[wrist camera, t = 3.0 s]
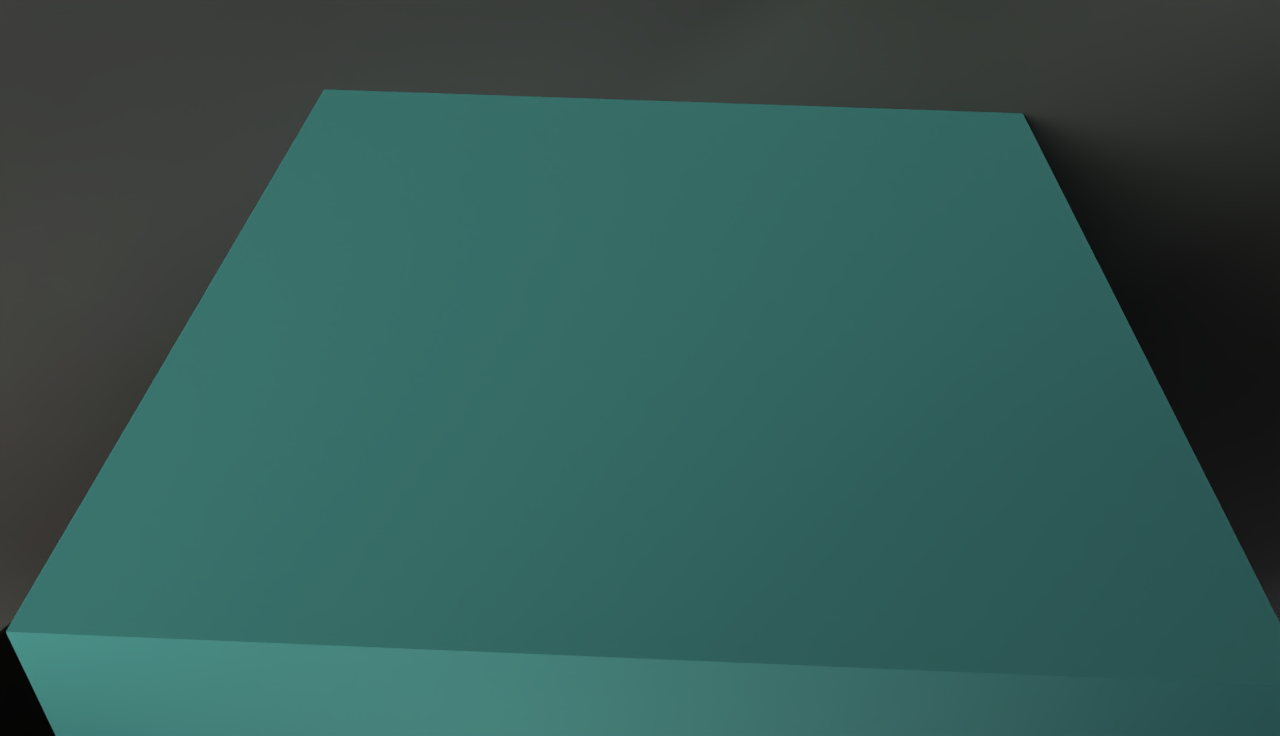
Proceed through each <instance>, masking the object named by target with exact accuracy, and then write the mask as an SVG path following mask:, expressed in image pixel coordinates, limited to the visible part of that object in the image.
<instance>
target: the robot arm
mask: <svg viewBox="0 0 1280 736" xmlns="http://www.w3.org/2000/svg"><path fill="white" fill-rule="evenodd" d="M10 624H11V623H9V624H8V625H7V626H6V627H4V628H3V629H2V630H1V631H0V736H56V735H55V733H54V731H53V729H52V727H51V725H50V723H49V721H48V719H47V717H46V715H45V713H44V710H43V708H42V706H41V704H40V702H39V700H38V698H37V696H36V694H35V692H34V690H33V688H32V685H31V683H30V681H29V679H28V677H27V675H26V673H25V671H24V669H23V667H22V665H21V663H20V661H19V658H18V656H17V654H16V652H15V650H14V648H13V646H12V644H11V642H10V640H9V638H8V636H7V633H6V630H7V629H8V627H9V625H10Z"/></svg>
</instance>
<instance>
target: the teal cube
mask: <svg viewBox="0 0 1280 736" xmlns="http://www.w3.org/2000/svg"><path fill="white" fill-rule="evenodd" d="M6 633H7V636H8V638H9V640H10V642H11V644H12V646H13V648H14V650H15V652H16V654H17V656H18V658H19V661H20V663H21V665H22V667H23V669H24V671H25V673H26V675H27V677H28V679H29V681H30V683H31V685H32V688H33V690H34V692H35V694H36V696H37V698H38V700H39V702H40V704H41V706H42V708H43V710H44V713H45V715H46V717H47V719H48V721H49V723H50V725H51V727H52V729H53V731H54V733H55V735H56V736H1280V622H1279V620H1278V618H1277V616H1276V614H1275V612H1274V610H1273V608H1272V607H1271V605H1270V603H1269V601H1268V599H1267V597H1266V595H1265V593H1264V591H1263V589H1262V587H1261V585H1260V583H1259V581H1258V579H1257V577H1256V575H1255V573H1254V571H1253V569H1252V567H1251V565H1250V563H1249V561H1248V559H1247V557H1246V555H1245V553H1244V551H1243V549H1242V547H1241V545H1240V543H1239V541H1238V539H1237V537H1236V535H1235V533H1234V531H1233V529H1232V527H1231V525H1230V523H1229V521H1228V519H1227V517H1226V515H1225V513H1224V511H1223V509H1222V507H1221V505H1220V503H1219V501H1218V499H1217V497H1216V496H1215V494H1214V492H1213V490H1212V488H1211V486H1210V484H1209V482H1208V480H1207V478H1206V476H1205V474H1204V472H1203V470H1202V468H1201V466H1200V464H1199V462H1198V460H1197V458H1196V456H1195V454H1194V452H1193V450H1192V448H1191V446H1190V444H1189V442H1188V440H1187V438H1186V436H1185V434H1184V432H1183V430H1182V428H1181V426H1180V424H1179V422H1178V420H1177V418H1176V416H1175V414H1174V412H1173V410H1172V408H1171V406H1170V404H1169V402H1168V400H1167V398H1166V396H1165V394H1164V392H1163V390H1162V388H1161V386H1160V385H1159V383H1158V381H1157V379H1156V377H1155V375H1154V373H1153V371H1152V369H1151V367H1150V365H1149V363H1148V361H1147V359H1146V357H1145V355H1144V353H1143V351H1142V349H1141V347H1140V345H1139V343H1138V341H1137V339H1136V337H1135V335H1134V333H1133V331H1132V329H1131V327H1130V325H1129V323H1128V321H1127V319H1126V317H1125V315H1124V313H1123V311H1122V309H1121V307H1120V305H1119V303H1118V301H1117V299H1116V297H1115V295H1114V293H1113V291H1112V289H1111V287H1110V285H1109V283H1108V281H1107V279H1106V277H1105V275H1104V274H1103V272H1102V270H1101V268H1100V266H1099V264H1098V262H1097V260H1096V258H1095V256H1094V254H1093V252H1092V250H1091V248H1090V246H1089V244H1088V242H1087V240H1086V238H1085V236H1084V234H1083V232H1082V230H1081V228H1080V226H1079V224H1078V222H1077V220H1076V218H1075V216H1074V214H1073V212H1072V210H1071V208H1070V206H1069V204H1068V202H1067V200H1066V198H1065V196H1064V194H1063V192H1062V190H1061V188H1060V186H1059V184H1058V182H1057V180H1056V178H1055V176H1054V174H1053V172H1052V170H1051V168H1050V166H1049V164H1048V163H1047V161H1046V159H1045V157H1044V155H1043V153H1042V151H1041V149H1040V147H1039V145H1038V143H1037V141H1036V139H1035V137H1034V135H1033V133H1032V131H1031V129H1030V127H1029V125H1028V123H1027V121H1026V119H1025V117H1024V115H1023V113H998V112H968V111H939V110H909V109H880V108H851V107H821V106H792V105H763V104H733V103H704V102H675V101H645V100H616V99H587V98H557V97H528V96H499V95H469V94H440V93H411V92H381V91H352V90H324V91H323V92H322V94H321V96H320V97H319V99H318V101H317V103H316V104H315V106H314V108H313V109H312V111H311V113H310V114H309V116H308V118H307V120H306V121H305V123H304V125H303V126H302V128H301V130H300V131H299V133H298V135H297V137H296V138H295V140H294V142H293V143H292V145H291V147H290V148H289V150H288V152H287V154H286V155H285V157H284V159H283V160H282V162H281V164H280V166H279V167H278V169H277V171H276V172H275V174H274V176H273V177H272V179H271V181H270V183H269V184H268V186H267V188H266V189H265V191H264V193H263V194H262V196H261V198H260V200H259V201H258V203H257V205H256V206H255V208H254V210H253V212H252V213H251V215H250V217H249V218H248V220H247V222H246V223H245V225H244V227H243V229H242V230H241V232H240V234H239V235H238V237H237V239H236V240H235V242H234V244H233V246H232V247H231V249H230V251H229V252H228V254H227V256H226V257H225V259H224V261H223V263H222V264H221V266H220V268H219V269H218V271H217V273H216V275H215V276H214V278H213V280H212V281H211V283H210V285H209V286H208V288H207V290H206V292H205V293H204V295H203V297H202V298H201V300H200V302H199V303H198V305H197V307H196V309H195V310H194V312H193V314H192V315H191V317H190V319H189V320H188V322H187V324H186V326H185V327H184V329H183V331H182V332H181V334H180V336H179V338H178V339H177V341H176V343H175V344H174V346H173V348H172V349H171V351H170V353H169V355H168V356H167V358H166V360H165V361H164V363H163V365H162V366H161V368H160V370H159V372H158V373H157V375H156V377H155V378H154V380H153V382H152V383H151V385H150V387H149V389H148V390H147V392H146V394H145V395H144V397H143V399H142V401H141V402H140V404H139V406H138V407H137V409H136V411H135V412H134V414H133V416H132V418H131V419H130V421H129V423H128V424H127V426H126V428H125V429H124V431H123V433H122V435H121V436H120V438H119V440H118V441H117V443H116V445H115V447H114V448H113V450H112V452H111V453H110V455H109V457H108V458H107V460H106V462H105V464H104V465H103V467H102V469H101V470H100V472H99V474H98V475H97V477H96V479H95V481H94V482H93V484H92V486H91V487H90V489H89V491H88V492H87V494H86V496H85V498H84V499H83V501H82V503H81V504H80V506H79V508H78V510H77V511H76V513H75V515H74V516H73V518H72V520H71V521H70V523H69V525H68V527H67V528H66V530H65V532H64V533H63V535H62V537H61V538H60V540H59V542H58V544H57V545H56V547H55V549H54V550H53V552H52V554H51V555H50V557H49V559H48V561H47V562H46V564H45V566H44V567H43V569H42V571H41V573H40V574H39V576H38V578H37V579H36V581H35V583H34V584H33V586H32V588H31V590H30V591H29V593H28V595H27V596H26V598H25V600H24V601H23V603H22V605H21V607H20V608H19V610H18V612H17V613H16V615H15V617H14V619H13V620H12V622H11V624H10V625H9V627H8V629H7V630H6Z"/></svg>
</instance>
